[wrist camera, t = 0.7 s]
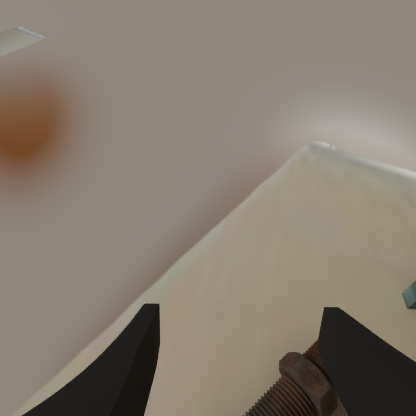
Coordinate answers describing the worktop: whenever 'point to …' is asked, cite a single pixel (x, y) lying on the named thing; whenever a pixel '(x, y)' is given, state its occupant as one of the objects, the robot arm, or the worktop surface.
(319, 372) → the bolt
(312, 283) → the worktop surface
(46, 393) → the worktop surface
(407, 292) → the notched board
